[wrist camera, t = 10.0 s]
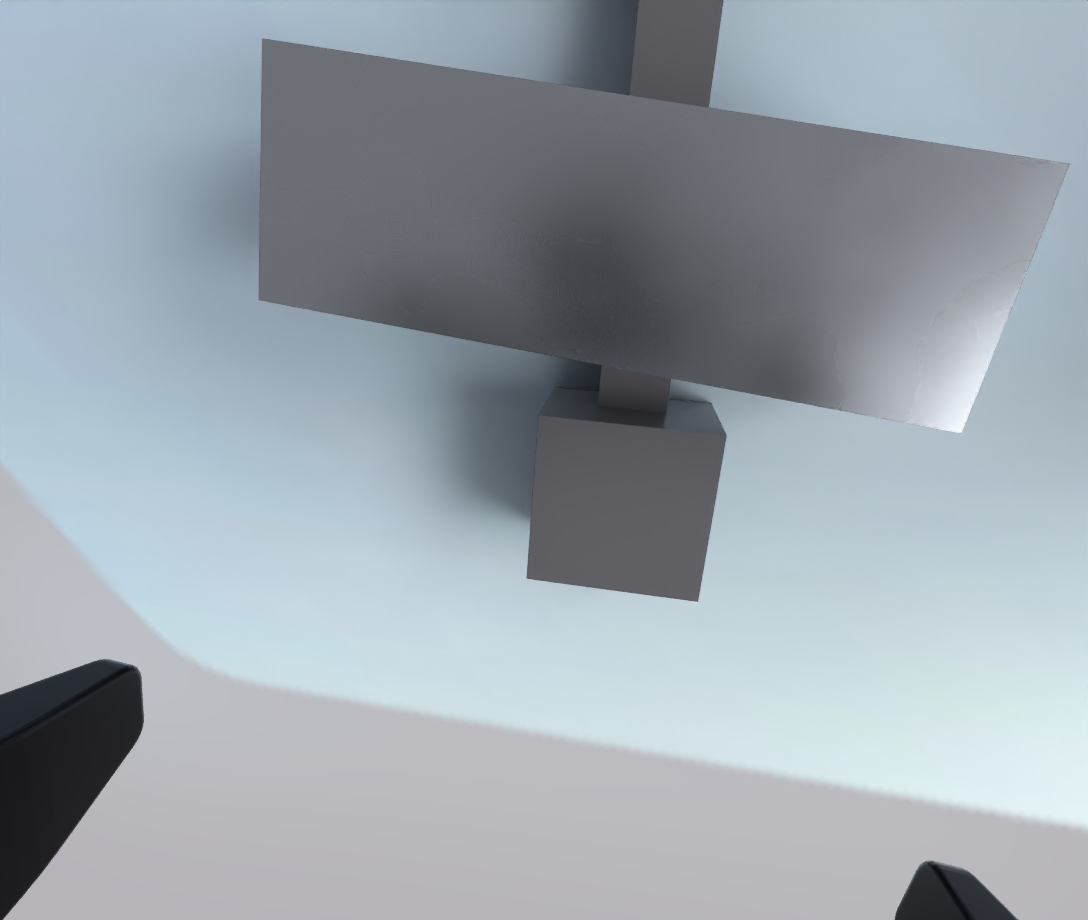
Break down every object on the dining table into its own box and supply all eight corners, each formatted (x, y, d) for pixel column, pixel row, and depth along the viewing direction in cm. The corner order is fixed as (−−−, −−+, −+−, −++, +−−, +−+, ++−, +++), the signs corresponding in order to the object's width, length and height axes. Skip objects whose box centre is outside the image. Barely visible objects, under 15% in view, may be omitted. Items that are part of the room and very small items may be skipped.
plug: (819, -270, 12) (875, -429, 9) (688, 544, 17) (698, 601, 15) (607, -268, 12) (597, -419, 10) (544, 526, 18) (526, 578, 15)
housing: (911, 195, 14) (1070, 163, 9) (853, 371, 15) (961, 433, 10) (391, 110, 15) (261, 38, 10) (378, 284, 16) (259, 300, 11)
